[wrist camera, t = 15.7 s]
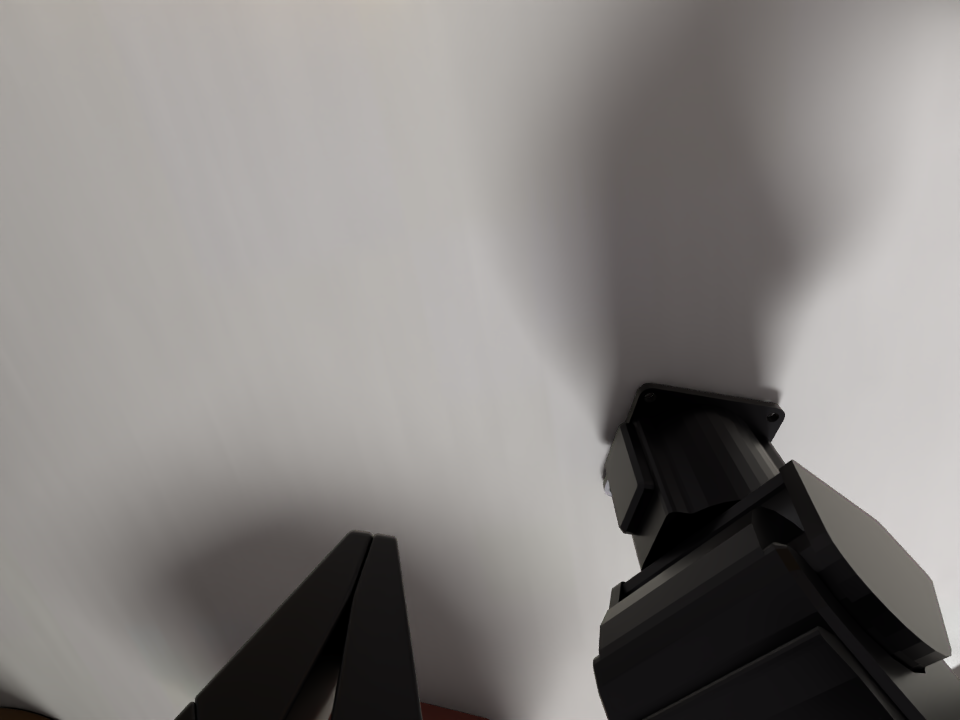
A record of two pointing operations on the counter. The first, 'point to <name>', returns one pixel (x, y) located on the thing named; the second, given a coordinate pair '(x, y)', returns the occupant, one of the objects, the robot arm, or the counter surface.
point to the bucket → (442, 714)
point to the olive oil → (19, 715)
